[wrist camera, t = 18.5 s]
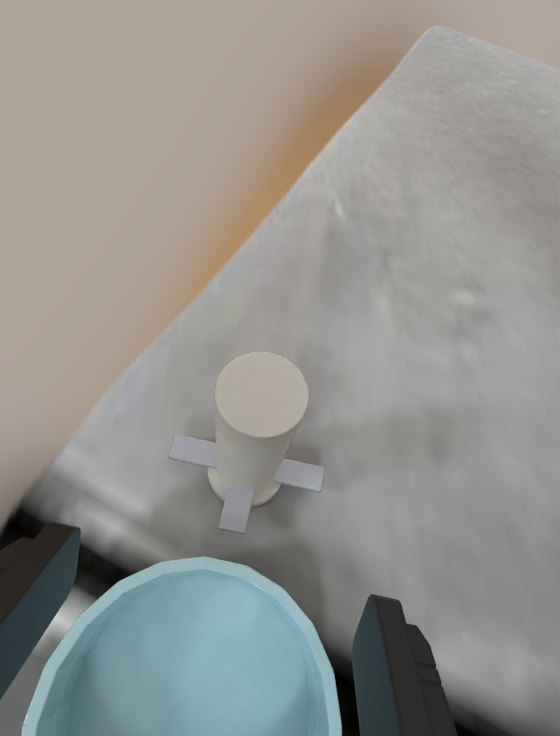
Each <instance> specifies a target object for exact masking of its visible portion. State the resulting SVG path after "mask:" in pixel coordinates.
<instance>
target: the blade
mask: <svg viewBox="0 0 560 736" xmlns="http://www.w3.org/2000/svg"><path fill="white" fill-rule="evenodd" d="M308 403H309V390H308V385H307V382H306V380H305V378H304V376H303V374H302V373H301V371H300V370H299V369H298V367H297V366H296V365H295V364H293V363H292V362H291V361H290V360H288V359H287V358H285V357H283V356H281V355H278V354H275V353H272V352H265V351H255V352H249V353H246V354H243V355H240V356H238V357H236V358H235V359H233V360H232V361H230V362H229V363H228V364H227V365H226V366H225V367H224V368H223V370H222V371H221V373H220V375H219V376H218V379H217V382H216V386H215V427H216V442H211V441H207V440H203V439H198V438H194V437H189V436H185V435H180V434H175V437H174V440H173V443H172V446H171V449H170V452H169V456H168V457H169V459H173V460H178V461H182V462H187V463H191V464H195V465H200V466H204V467H207V472H208V479H209V482H210V485H211V487H212V489H213V491H214V492H215V494H216V495H217V496H218V497H219V498H220V499H221V500H223V501H224V506H223V510H222V514H221V518H220V522H219V526H218V528H219V529H223V530H227V531H232V532H236V533H241V534H245V532H246V527H247V522H248V518H249V513H250V509H251V508H253V507H257V506H260V505H262V504H264V503H266V502H267V501H269V500H270V499H271V498H272V497H273V496H274V495H275V494H276V493H277V491H278V490H279V488H280V486H281V484H284V485H289V486H293V487H297V488H302V489H306V490H311V491H315V492H320V491H321V488H322V482H323V475H324V467H322V466H317V465H313V464H308V463H304V462H300V461H295V460H291V459H286V458H285V455H286V453H287V451H288V449H289V446H290V444H291V442H292V440H293V438H294V436H295V434H296V432H297V430H298V427H299V425H300V423H301V421H302V419H303V417H304V415H305V413H306V410H307V407H308Z"/></svg>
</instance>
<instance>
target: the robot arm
mask: <svg viewBox="0 0 560 736" xmlns="http://www.w3.org/2000/svg"><path fill="white" fill-rule="evenodd" d="M80 534H81V531H80V528H79V527H75V526H70V525H66V524H62V523H57V522H49V523H48V524H47V525H46V526H45V527H44V528H43V530H42V531H41V532H40V533H39V534H38V535H37V536H36V537H35V539H30V538H26V537H22V538H20V539H19V540H17V541H15V542H13V543H12V544H10V545H8V546H6V547H4V548H3V549H2V550H1V551H0V700H1V698H2V697H3V695H4V693H5V692H6V690H7V689H8V687H9V686H10V684H11V683H12V681H13V680H14V678H15V677H16V675H17V674H18V672H19V670H20V669H21V667H22V666H23V664H24V663H25V661H26V660H27V658H28V657H29V655H30V654H31V652H32V650H33V649H34V647H35V646H36V644H37V643H38V641H39V640H40V638H41V637H42V635H43V634H44V632H45V631H46V629H47V627H48V626H49V624H50V623H51V621H52V620H53V618H54V617H55V615H56V614H57V612H58V611H59V609H60V608H61V606H62V604H63V603H64V601H65V600H66V598H67V597H68V595H69V593H70V591H71V588H72V586H73V583H74V580H75V577H76V572H77V562H78V553H79V544H80ZM352 665H353V674H354V683H355V691H356V700H357V709H358V718H359V727H360V736H458V735H457V732H456V729H455V725H454V722H453V719H452V716H451V712H450V709H449V706H448V703H447V699H446V696H445V693H444V690H443V687H441V680H440V677H439V673H438V670H437V669H436V663H435V660H434V657H433V654H432V650H431V647H430V645H429V643H428V642H427V640H426V639H425V637H424V636H423V634H422V633H421V631H420V630H419V628H418V627H417V626H415V625H411V624H406V621H405V617H404V613H403V609H402V606H401V603H400V601H399V600H396V599H392V598H387V597H383V596H378V595H374V594H371V595H370V596H369V598H368V600H367V603H366V606H365V608H364V611H363V614H362V617H361V620H360V622H359V625H358V628H357V631H356V633H355V637H354V641H353V648H352Z"/></svg>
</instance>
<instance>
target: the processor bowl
mask: <svg viewBox="0 0 560 736" xmlns="http://www.w3.org/2000/svg"><path fill="white" fill-rule="evenodd" d="M21 736H342V723H341V716H340V710H339V703H338V696H337V689H336V682H335V676H334V672H333V668H332V666H331V664H330V661H329V659H328V657H327V654H326V652H325V650H324V647H323V645H322V643H321V640H320V638H319V636H318V633H317V631H316V629H315V626H314V625H313V623H312V622H311V620H310V619H309V618H308V617H307V616H306V614H305V613H304V612H303V611H302V610H301V608H300V607H299V606H298V605H297V604H296V602H295V601H294V600H293V599H292V598H291V596H290V595H289V594H288V593H287V592H286V590H285V589H283V588H282V587H281V586H279V585H278V584H276V583H275V582H273V581H271V580H270V579H268V578H267V577H265V576H263V575H262V574H260V573H259V572H257V571H255V570H254V569H252V568H251V567H249V566H246V565H244V564H239V563H235V562H230V561H226V560H221V559H217V558H212V557H208V556H206V557H205V556H201V557H193V558H184V559H176V560H168V561H162V562H159V563H157V564H155V565H152V566H150V567H148V568H146V569H144V570H142V571H140V572H137V573H135V574H133V575H131V576H129V577H127V578H124V579H122V580H120V581H119V582H117V583H116V584H115V585H114V586H112V587H111V588H110V589H109V590H108V591H107V592H106V593H104V594H103V595H102V596H101V597H100V598H99V599H98V600H96V601H95V602H94V603H93V604H92V605H91V606H89V607H88V608H87V609H86V610H85V611H84V612H83V613H81V614H80V615H79V617H78V618H77V619H76V620H75V622H74V623H73V625H72V626H71V628H70V629H69V631H68V632H67V633H66V635H65V636H64V638H63V639H62V641H61V642H60V644H59V645H58V647H57V648H56V650H55V651H54V652H53V654H52V655H51V657H50V658H49V660H48V661H47V663H46V666H45V667H44V669H43V672H42V674H41V677H40V680H39V682H38V685H37V688H36V690H35V693H34V696H33V698H32V701H31V704H30V706H29V709H28V712H27V715H26V717H25V720H24V723H23V727H22V734H21Z"/></svg>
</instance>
